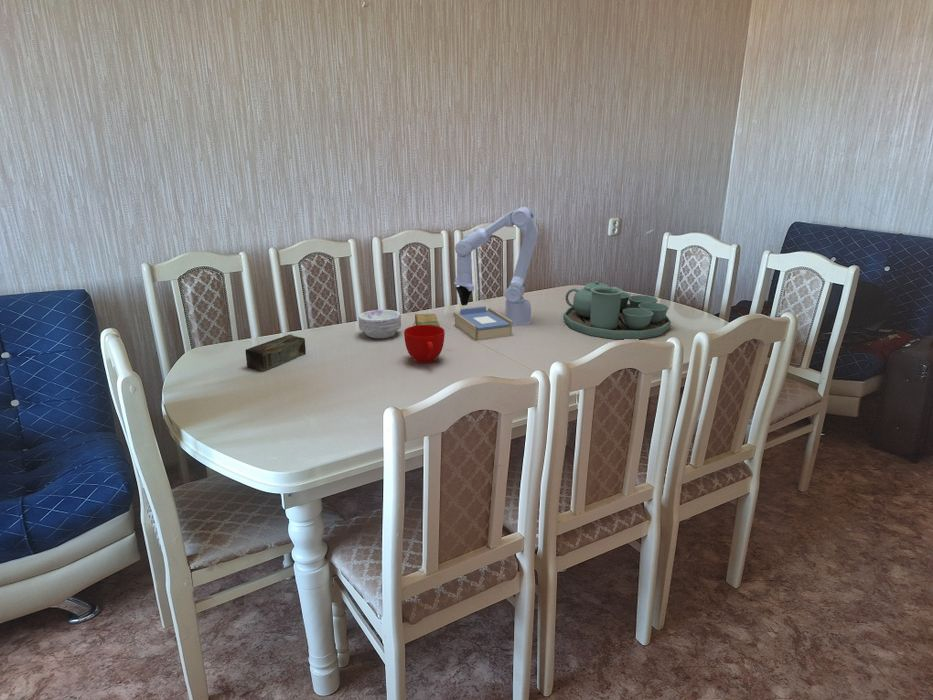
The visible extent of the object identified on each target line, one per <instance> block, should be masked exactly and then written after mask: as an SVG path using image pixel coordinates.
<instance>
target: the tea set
mask: <svg viewBox="0 0 933 700" xmlns="http://www.w3.org/2000/svg"><path fill="white" fill-rule="evenodd" d="M583 286H584V288H582V289H577V288H571V289H569V290H568V291H567V292H566V294H565V301H566V304H567V305H568V306H570V307H568V308H567V309H566V311H565V312H564V313H563V319H562V320H563V321H564V324H566V325H567V326H568V327H569V328H570V330H573V331H576V332H580V333H582V334H583V335H588V336H591V337H599V338H605V339H609V340H610V339H613V340H642V339H648V338H652V337H659V336H661V335H662V334H664V333H665V332H667V331H668V330H670V327H671V320H670V319H669V317H668V315H667V312H668V310H669V309H670V307H669V306H668V305H666V304H664V303H659V302H658V301H659V299H658V298H656V297H654V296H651V295H646V294H643V295H642V294H638V295H635V294H633V295H632V296H631V294H630V293H628V292H624V290H623V289H621V288H618V287H617V286H609V285H608V284H606V283H602V282H599V280H596V281H594V282H588V283H586V284H584V285H583ZM572 292H574V293H575V294H574V295H573V301H572V303H573V304H572V303H571V302H570V301H569V295H570V293H572ZM628 302H629V303H628Z"/></svg>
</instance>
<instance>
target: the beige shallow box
mask: <svg viewBox="0 0 933 700" xmlns="http://www.w3.org/2000/svg"><path fill="white" fill-rule="evenodd" d="M487 309H488V311H489V312H491V313H493V314H494V315H496V316H498V317H499V318H501V319H503V320H504V321H506V322H508V323H509V324H510V326H508V327H500V328H492V329H485V330H477V329H476V326H475V325H474V324H472V323H471V322H469V321H468V320H466V319H465V318H463V317H462V316H460V315H459V314H458V312H455V311H453V312H452V313H453V314H452V315H453V318H454V326H456V327H457V328H458V329H460V330H461V331H463V332H464V333H466V334H467V335H468V336H469V337H471V338H472V339H473V340H475V341H482V340H483V341H484V340H487V339H488V340H489V339H495V338H503V337H511V336H512V335H513V334H512V333H513V331H512V330H513V327H514V325H513V321H512V320H510V319H508V318H506V317H505V315H503V314H501V313H499V312H498V311H496V310H494V309H492V308H491V307H487Z"/></svg>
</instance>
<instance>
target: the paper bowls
mask: <svg viewBox="0 0 933 700" xmlns="http://www.w3.org/2000/svg"><path fill="white" fill-rule="evenodd" d="M358 327H359V328H358V329H359V330H360V331H362V332H364V333H365V335H366V336H367V337H369V338H370V339H371V338H372V339H378V340H379V339H387V338H391V337H394V335H395V334H396V332H397V330H399V329H400V328H401V327H402V315H401V313H400V311H396V310H392V309H374V310H373V309H372V310H368V311H364V312H361V313H360V314H359V315H358Z"/></svg>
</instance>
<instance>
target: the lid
mask: <svg viewBox="0 0 933 700" xmlns="http://www.w3.org/2000/svg"><path fill="white" fill-rule="evenodd" d="M459 311H460V312H459V313H458V312H457V314H459V315H460V316H462V317H463V318H465V319H466V320H468V321H469V322H471V323H472V324H474V325H475V326H476V329H477V330H485V329H492V328H500V327H508V326H510V324H509V323H508V322H506V321H504V320H503V319H501V318H499V317H498V316H496V315H494V314H493V313H491V312H489V311H488V310H487V306H485V305H482V306H473V307H466V308H465V307H464V308H463V307H462V308H460V310H459Z"/></svg>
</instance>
